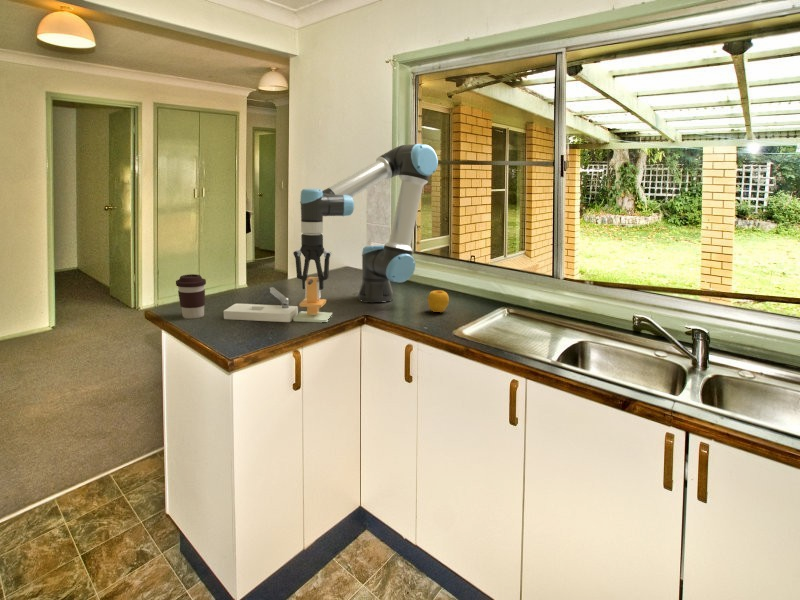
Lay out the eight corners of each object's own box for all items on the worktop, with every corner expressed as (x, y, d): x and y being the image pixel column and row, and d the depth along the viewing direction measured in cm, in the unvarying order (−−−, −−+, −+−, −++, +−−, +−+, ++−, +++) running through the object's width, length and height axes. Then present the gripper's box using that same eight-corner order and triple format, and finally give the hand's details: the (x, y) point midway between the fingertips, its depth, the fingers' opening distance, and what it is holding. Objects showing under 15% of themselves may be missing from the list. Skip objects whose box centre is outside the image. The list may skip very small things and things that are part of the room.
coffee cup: (184, 312, 187) (180, 273, 183) (211, 312, 188) (208, 273, 184) (174, 320, 177) (171, 278, 174) (203, 320, 178) (200, 278, 174)
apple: (442, 316, 191) (443, 293, 189) (422, 312, 196) (423, 290, 194) (451, 311, 198) (453, 289, 196) (433, 308, 203) (434, 287, 201)
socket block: (297, 313, 189) (297, 302, 188) (289, 322, 179) (289, 310, 178) (235, 311, 191) (235, 300, 190) (224, 319, 180) (223, 307, 179)
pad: (332, 315, 189) (332, 312, 189) (326, 322, 179) (326, 320, 179) (300, 313, 190) (300, 311, 189) (293, 321, 180) (293, 318, 180)
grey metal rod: (289, 303, 185) (289, 298, 185) (282, 304, 184) (282, 299, 184) (274, 291, 203) (274, 287, 203) (268, 292, 202) (268, 287, 201)
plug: (326, 310, 187) (326, 276, 184) (320, 317, 178) (320, 281, 175) (305, 309, 188) (304, 275, 185) (298, 316, 179) (297, 280, 176)
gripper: (337, 233, 180) (337, 296, 186) (291, 231, 181) (293, 294, 187) (333, 235, 173) (333, 301, 178) (285, 234, 174) (287, 299, 179)
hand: (313, 297), depth 183 cm, fingers closed on plug, 4 cm apart
